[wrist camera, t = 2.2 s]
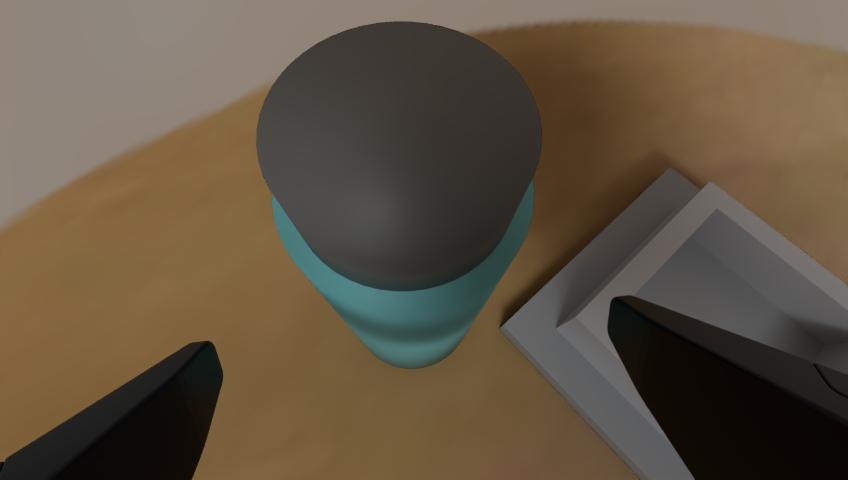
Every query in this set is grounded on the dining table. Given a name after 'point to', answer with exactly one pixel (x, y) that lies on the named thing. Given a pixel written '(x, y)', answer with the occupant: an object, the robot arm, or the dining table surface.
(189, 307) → the dining table surface
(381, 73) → the teal flask
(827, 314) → the tray
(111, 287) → the dining table surface
